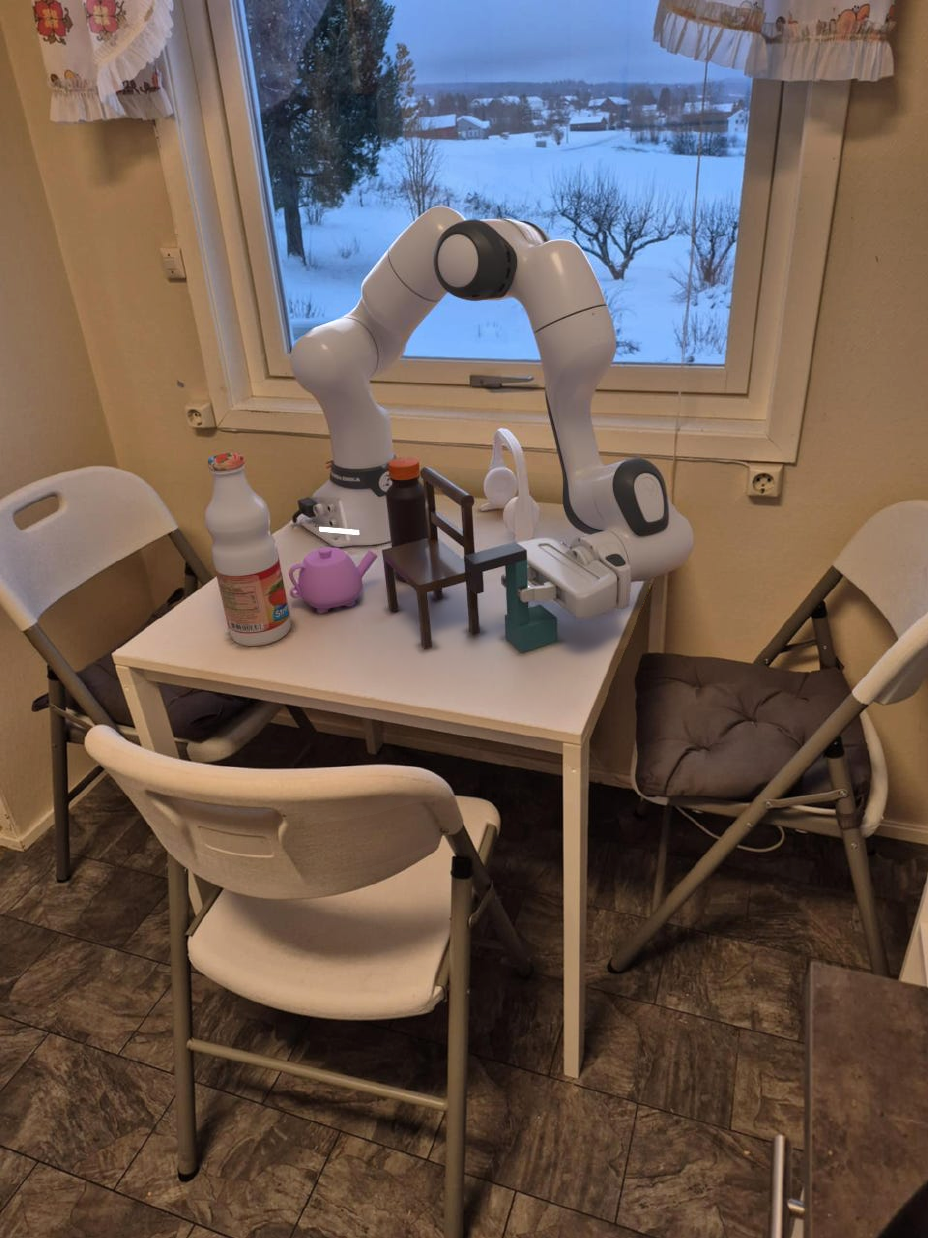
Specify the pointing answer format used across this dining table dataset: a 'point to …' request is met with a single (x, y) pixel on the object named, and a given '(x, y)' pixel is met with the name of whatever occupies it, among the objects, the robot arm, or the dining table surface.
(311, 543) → the dining table surface
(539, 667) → the dining table surface
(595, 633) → the dining table surface
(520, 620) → the block
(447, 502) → the dining table surface
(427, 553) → the chair
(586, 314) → the robot arm
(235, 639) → the fruit juice
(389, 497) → the bottle
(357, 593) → the teapot
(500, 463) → the headset
